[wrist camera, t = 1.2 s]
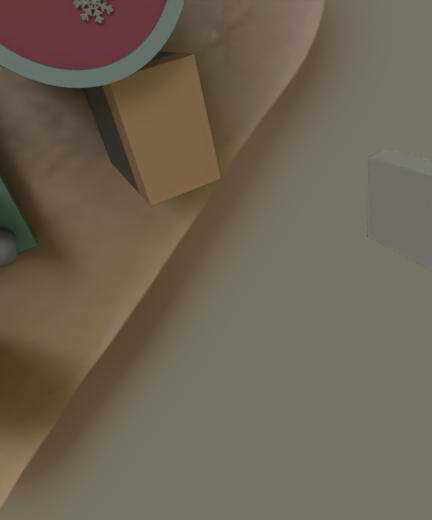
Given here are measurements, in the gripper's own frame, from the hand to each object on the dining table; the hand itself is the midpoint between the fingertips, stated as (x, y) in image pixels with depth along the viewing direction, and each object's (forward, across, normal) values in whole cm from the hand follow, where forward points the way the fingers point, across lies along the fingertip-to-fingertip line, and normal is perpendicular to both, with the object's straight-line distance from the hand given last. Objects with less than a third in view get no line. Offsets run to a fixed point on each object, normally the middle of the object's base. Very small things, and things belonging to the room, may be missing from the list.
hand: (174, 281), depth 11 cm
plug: (+19, +4, +1) cm, 19 cm away
